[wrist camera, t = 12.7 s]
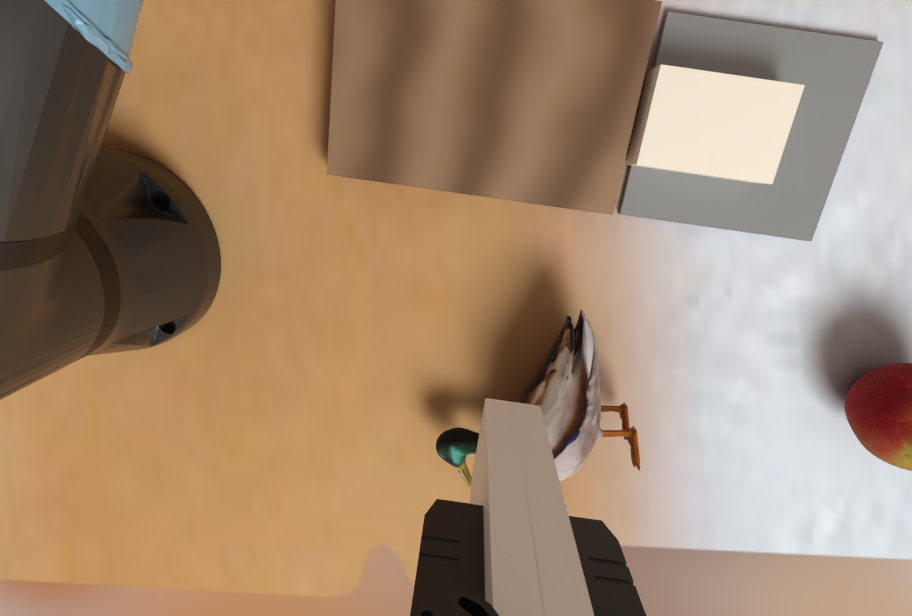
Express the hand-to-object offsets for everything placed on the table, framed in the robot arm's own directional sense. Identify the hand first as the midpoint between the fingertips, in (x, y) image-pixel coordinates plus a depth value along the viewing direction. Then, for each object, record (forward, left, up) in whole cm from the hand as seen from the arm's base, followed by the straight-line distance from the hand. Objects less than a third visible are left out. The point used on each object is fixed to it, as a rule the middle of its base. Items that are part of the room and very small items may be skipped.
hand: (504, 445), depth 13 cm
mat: (+16, +12, -24) cm, 31 cm away
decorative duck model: (+5, -9, -25) cm, 27 cm away
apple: (+32, -6, -25) cm, 41 cm away
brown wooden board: (-2, +12, -24) cm, 27 cm away
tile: (+13, +11, -24) cm, 30 cm away
